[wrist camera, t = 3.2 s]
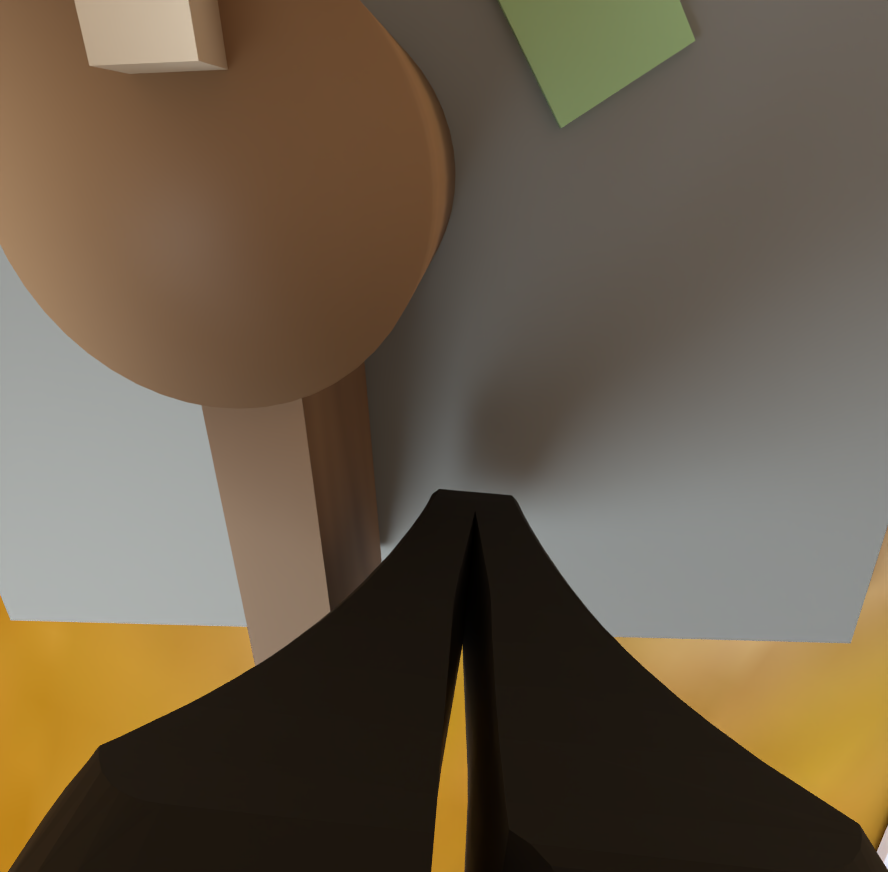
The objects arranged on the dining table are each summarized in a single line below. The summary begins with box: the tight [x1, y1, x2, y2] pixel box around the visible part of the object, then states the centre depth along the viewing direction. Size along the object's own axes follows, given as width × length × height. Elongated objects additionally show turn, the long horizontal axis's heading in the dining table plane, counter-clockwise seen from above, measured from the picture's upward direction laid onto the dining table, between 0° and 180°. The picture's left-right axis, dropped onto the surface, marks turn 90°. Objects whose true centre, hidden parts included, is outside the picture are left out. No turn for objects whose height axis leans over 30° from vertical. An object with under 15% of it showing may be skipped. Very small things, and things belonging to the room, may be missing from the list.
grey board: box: [0, 0, 888, 643], centre depth 10 cm, size 18×16×1 cm
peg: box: [0, 0, 455, 666], centre depth 8 cm, size 4×12×5 cm, turn 2°
